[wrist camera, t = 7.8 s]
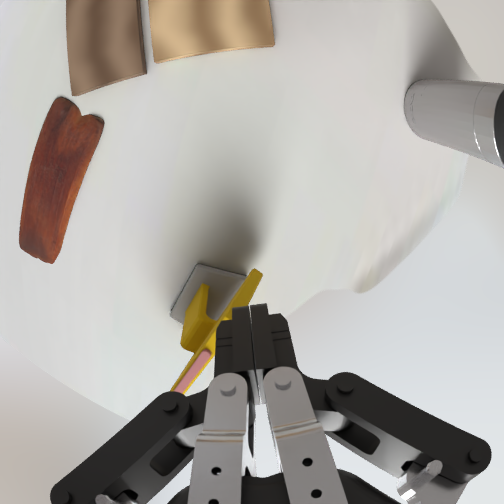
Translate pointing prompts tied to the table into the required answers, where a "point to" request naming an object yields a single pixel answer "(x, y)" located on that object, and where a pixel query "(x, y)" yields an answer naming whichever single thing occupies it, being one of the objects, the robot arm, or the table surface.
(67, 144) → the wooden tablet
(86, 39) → the walnut board
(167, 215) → the table surface
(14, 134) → the table surface
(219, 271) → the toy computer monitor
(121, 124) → the table surface
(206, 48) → the light wood board
